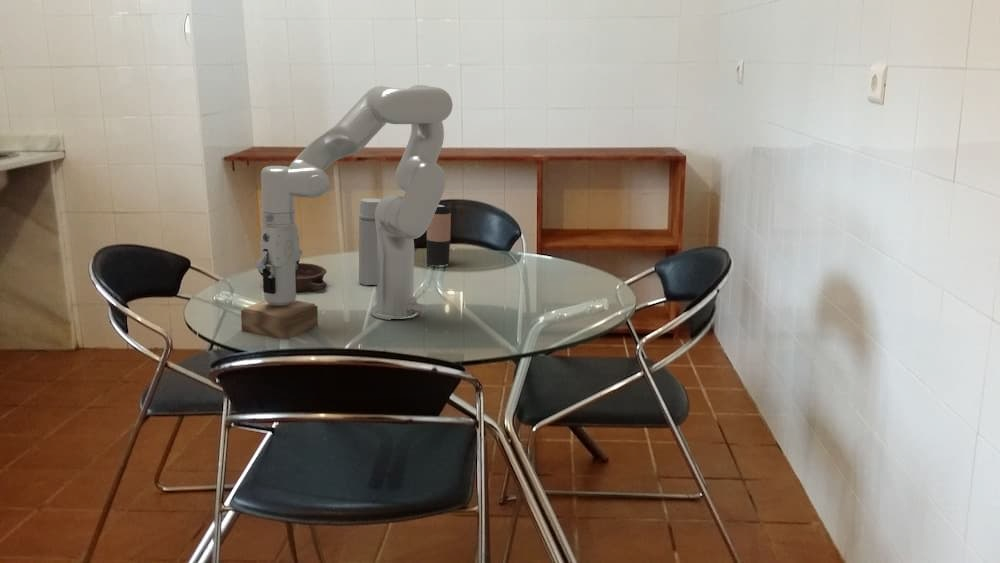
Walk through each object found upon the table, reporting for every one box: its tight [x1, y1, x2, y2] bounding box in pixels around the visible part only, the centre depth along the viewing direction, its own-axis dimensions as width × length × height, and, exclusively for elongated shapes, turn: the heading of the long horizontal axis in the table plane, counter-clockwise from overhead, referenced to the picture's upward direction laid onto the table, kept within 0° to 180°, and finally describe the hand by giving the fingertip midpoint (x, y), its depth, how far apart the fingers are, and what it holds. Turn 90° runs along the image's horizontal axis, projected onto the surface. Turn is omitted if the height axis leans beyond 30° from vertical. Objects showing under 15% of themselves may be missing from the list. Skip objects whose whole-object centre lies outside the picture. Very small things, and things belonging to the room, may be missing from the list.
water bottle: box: [358, 197, 382, 286], centre depth 255 cm, size 9×8×25 cm
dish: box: [296, 262, 327, 292], centre depth 251 cm, size 17×22×5 cm
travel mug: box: [426, 202, 452, 265], centre depth 280 cm, size 8×8×20 cm
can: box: [263, 256, 297, 305], centre depth 211 cm, size 8×8×12 cm
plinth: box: [240, 299, 319, 340], centre depth 214 cm, size 13×13×6 cm
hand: (280, 288), depth 212 cm, fingers closed on can, 7 cm apart
